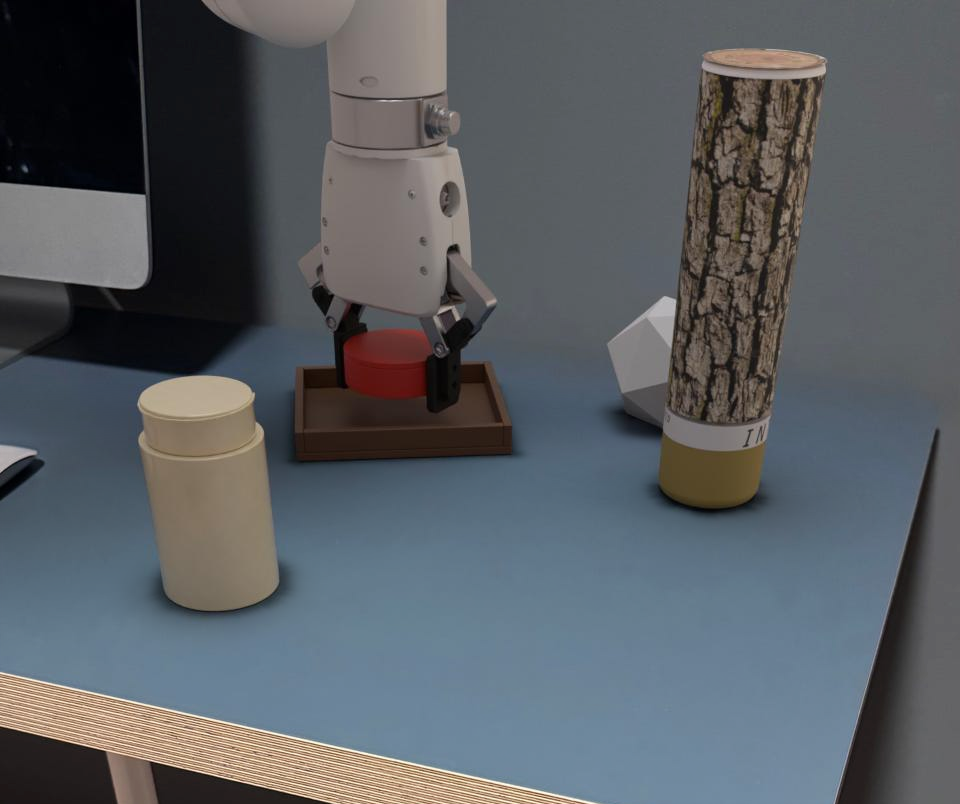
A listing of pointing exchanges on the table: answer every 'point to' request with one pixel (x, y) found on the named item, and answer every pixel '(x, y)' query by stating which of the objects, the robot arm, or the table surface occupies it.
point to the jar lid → (387, 363)
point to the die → (645, 361)
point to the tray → (398, 419)
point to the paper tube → (737, 268)
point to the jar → (208, 492)
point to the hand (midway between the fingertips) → (397, 393)
